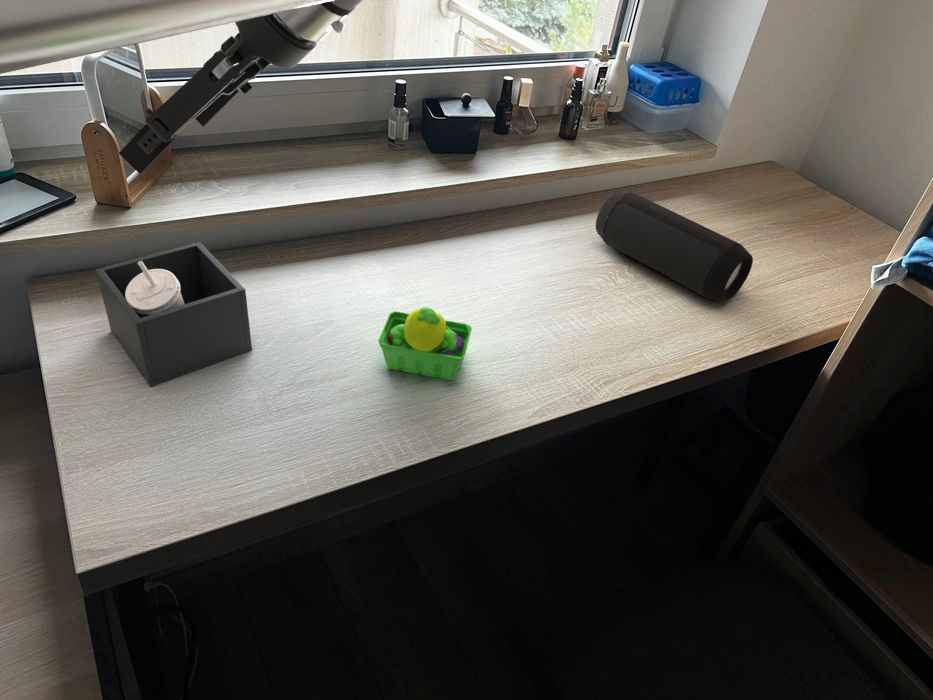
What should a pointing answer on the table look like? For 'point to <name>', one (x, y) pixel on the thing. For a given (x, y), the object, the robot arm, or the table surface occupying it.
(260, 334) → the table surface
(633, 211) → the portable speaker
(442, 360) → the fruit basket
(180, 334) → the bin
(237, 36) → the robot arm
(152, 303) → the smoothie
